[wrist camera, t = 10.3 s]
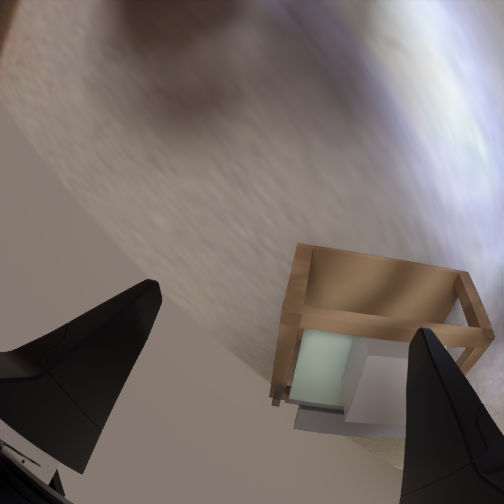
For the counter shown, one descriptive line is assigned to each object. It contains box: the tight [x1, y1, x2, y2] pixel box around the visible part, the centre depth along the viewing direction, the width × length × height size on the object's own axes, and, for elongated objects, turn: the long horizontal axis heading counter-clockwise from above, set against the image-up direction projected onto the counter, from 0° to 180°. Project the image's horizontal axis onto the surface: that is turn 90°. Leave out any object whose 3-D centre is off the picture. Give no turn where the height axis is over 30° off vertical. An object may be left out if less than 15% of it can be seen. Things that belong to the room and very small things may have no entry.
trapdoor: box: [285, 328, 448, 438], centre depth 20 cm, size 12×10×1 cm
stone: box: [342, 336, 410, 425], centre depth 17 cm, size 5×5×5 cm
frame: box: [269, 243, 495, 407], centre depth 21 cm, size 15×11×9 cm
